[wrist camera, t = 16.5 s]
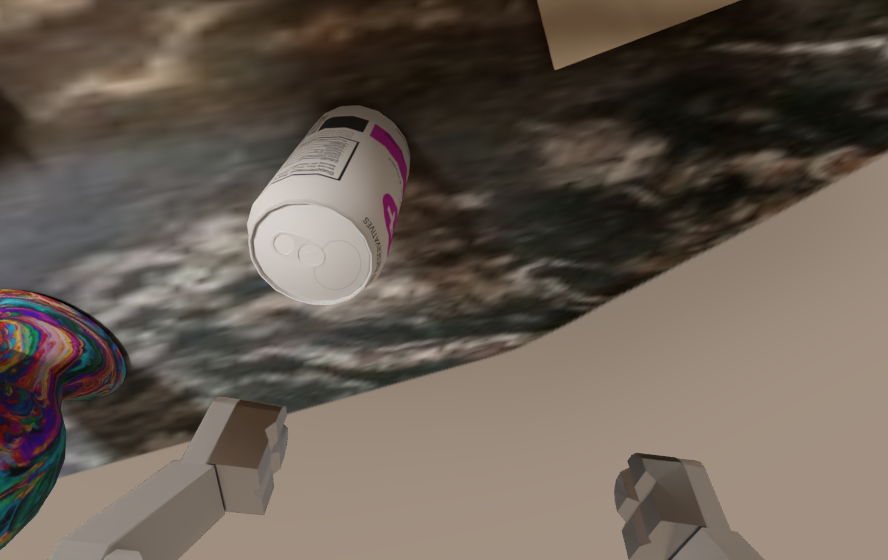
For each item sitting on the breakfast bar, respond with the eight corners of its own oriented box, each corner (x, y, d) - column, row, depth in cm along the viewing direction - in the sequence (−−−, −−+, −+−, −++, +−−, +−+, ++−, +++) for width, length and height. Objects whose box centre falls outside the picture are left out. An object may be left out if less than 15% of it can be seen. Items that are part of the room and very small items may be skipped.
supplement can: (428, 132, 39) (406, 230, 27) (387, 214, 43) (353, 331, 31) (329, 82, 37) (257, 164, 25) (297, 174, 41) (224, 281, 29)
